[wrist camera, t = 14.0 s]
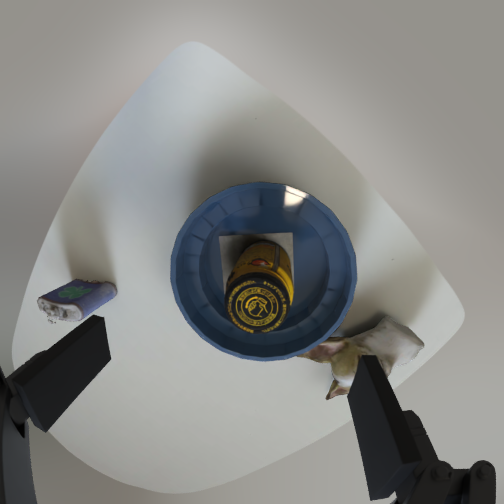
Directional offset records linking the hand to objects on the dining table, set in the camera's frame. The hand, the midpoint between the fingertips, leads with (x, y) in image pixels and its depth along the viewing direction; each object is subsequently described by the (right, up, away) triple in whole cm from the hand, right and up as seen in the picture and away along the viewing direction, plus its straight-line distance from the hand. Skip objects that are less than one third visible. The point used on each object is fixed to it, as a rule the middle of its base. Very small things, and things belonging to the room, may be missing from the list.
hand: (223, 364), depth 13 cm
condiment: (+2, +4, +21) cm, 21 cm away
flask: (-22, 0, +25) cm, 33 cm away
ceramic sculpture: (+16, -7, +22) cm, 28 cm away
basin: (+3, +4, +21) cm, 22 cm away
